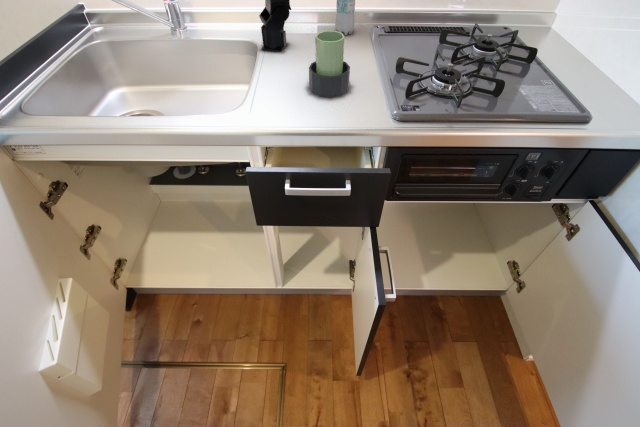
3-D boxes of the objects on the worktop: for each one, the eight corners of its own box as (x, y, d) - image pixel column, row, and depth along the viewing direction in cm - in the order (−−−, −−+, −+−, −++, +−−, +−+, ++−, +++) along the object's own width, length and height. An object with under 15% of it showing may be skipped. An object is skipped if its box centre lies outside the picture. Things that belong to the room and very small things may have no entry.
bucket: (306, 95, 87) (305, 74, 83) (314, 77, 94) (314, 57, 89) (345, 99, 86) (346, 78, 81) (350, 80, 92) (352, 60, 88)
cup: (313, 92, 88) (312, 40, 78) (319, 80, 92) (318, 29, 83) (339, 95, 87) (341, 43, 77) (343, 82, 91) (346, 31, 82)
